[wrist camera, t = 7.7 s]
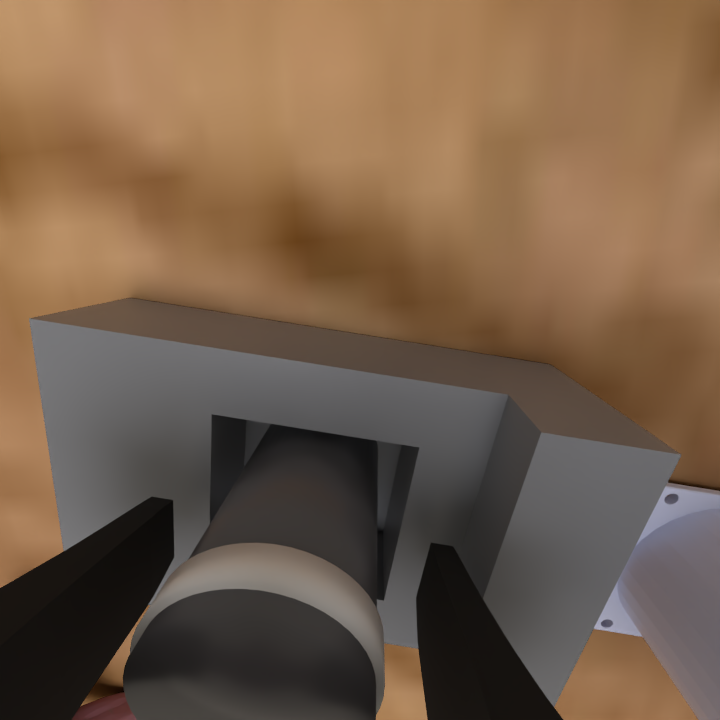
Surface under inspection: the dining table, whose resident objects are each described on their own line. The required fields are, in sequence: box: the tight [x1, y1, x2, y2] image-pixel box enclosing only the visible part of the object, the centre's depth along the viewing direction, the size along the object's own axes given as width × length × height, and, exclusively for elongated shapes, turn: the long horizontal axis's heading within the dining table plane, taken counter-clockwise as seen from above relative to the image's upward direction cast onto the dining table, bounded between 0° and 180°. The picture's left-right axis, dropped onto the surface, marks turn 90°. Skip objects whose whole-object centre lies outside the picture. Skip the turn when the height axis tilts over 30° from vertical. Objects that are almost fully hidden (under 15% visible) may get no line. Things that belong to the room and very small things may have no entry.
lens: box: [123, 424, 385, 720], centre depth 10 cm, size 5×5×8 cm
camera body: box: [29, 298, 681, 707], centre depth 12 cm, size 16×10×6 cm, turn 82°
